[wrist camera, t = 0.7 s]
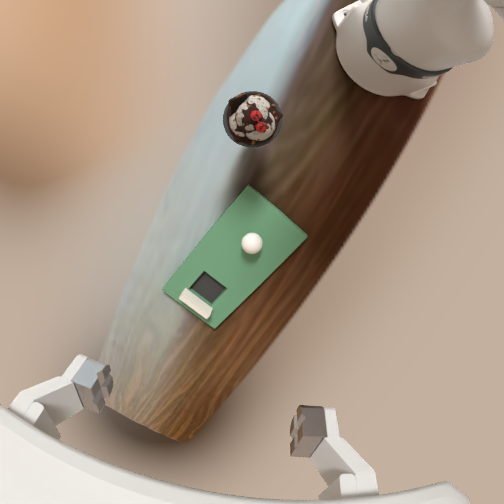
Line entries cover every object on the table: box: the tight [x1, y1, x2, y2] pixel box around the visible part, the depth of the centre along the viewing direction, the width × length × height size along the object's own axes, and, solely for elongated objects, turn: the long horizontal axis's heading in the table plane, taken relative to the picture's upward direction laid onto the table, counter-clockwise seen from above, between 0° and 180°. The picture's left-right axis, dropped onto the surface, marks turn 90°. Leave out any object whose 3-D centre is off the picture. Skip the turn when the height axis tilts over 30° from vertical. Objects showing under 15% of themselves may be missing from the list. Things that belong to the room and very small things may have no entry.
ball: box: [241, 233, 263, 254], centre depth 44 cm, size 3×3×3 cm
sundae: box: [223, 91, 283, 147], centre depth 33 cm, size 7×7×15 cm
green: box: [162, 184, 308, 329], centre depth 47 cm, size 24×12×4 cm, turn 139°
